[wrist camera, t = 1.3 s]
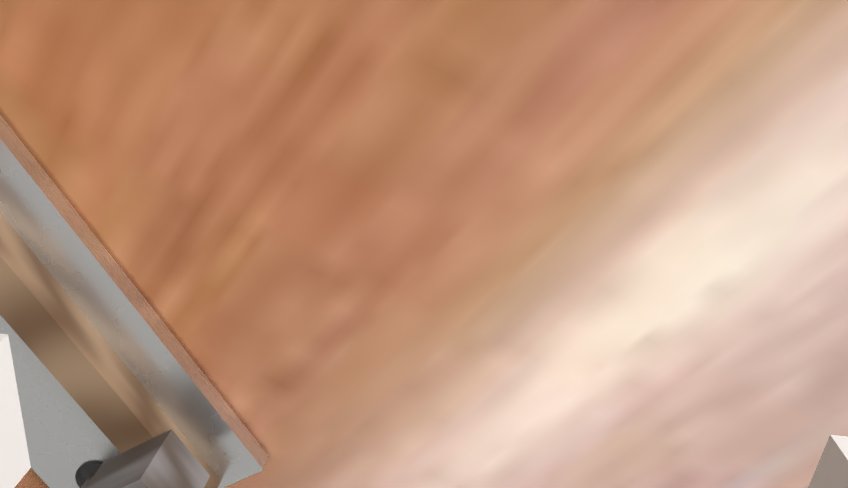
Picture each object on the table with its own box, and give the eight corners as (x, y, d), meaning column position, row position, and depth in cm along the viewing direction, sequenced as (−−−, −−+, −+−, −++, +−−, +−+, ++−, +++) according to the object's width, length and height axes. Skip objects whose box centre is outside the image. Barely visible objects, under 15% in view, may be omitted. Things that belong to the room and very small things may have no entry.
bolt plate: (-250, 137, 38) (-275, 144, 37) (-82, 10, 35) (-103, 12, 33) (108, 527, 47) (99, 543, 46) (268, 456, 44) (262, 471, 42)
